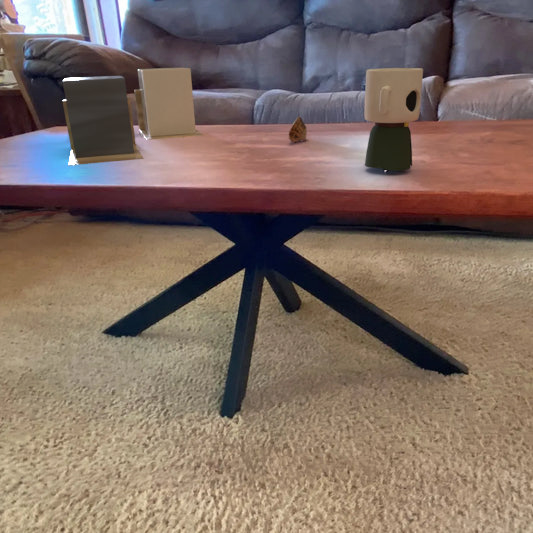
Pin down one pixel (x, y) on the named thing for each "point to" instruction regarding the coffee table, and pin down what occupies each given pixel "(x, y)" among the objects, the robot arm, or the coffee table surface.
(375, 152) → the toy figurine
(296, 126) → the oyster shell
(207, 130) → the coffee table surface
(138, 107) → the cream rack
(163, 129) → the cream book
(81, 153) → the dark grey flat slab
